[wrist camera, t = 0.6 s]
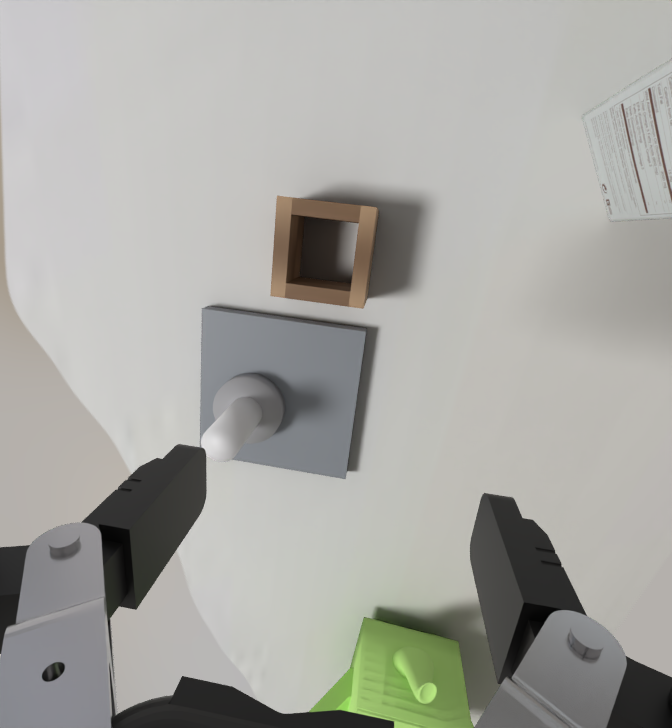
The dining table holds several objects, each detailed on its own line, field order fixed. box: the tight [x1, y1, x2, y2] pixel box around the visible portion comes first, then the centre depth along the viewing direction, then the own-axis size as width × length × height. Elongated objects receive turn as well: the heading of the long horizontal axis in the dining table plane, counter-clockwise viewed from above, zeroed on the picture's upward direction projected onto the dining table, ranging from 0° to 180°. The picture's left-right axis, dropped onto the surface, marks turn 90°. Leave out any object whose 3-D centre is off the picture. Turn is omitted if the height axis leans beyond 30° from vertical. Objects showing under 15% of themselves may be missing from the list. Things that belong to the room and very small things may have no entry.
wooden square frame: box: [271, 196, 379, 308], centre depth 29 cm, size 6×6×4 cm
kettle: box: [309, 617, 474, 728], centre depth 37 cm, size 15×14×11 cm
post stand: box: [200, 306, 367, 479], centre depth 32 cm, size 13×13×8 cm
